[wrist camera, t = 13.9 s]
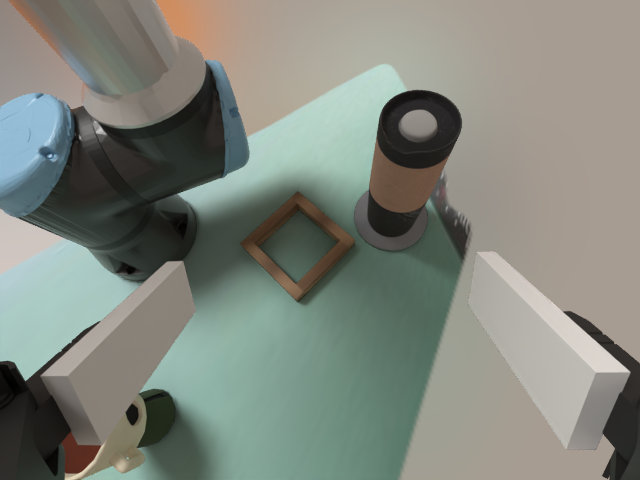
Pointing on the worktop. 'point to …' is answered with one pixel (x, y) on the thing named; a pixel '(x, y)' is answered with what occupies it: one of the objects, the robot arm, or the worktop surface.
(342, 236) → the walnut frame
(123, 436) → the character mug
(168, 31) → the robot arm
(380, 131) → the travel mug
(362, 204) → the slate coaster
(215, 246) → the worktop surface
